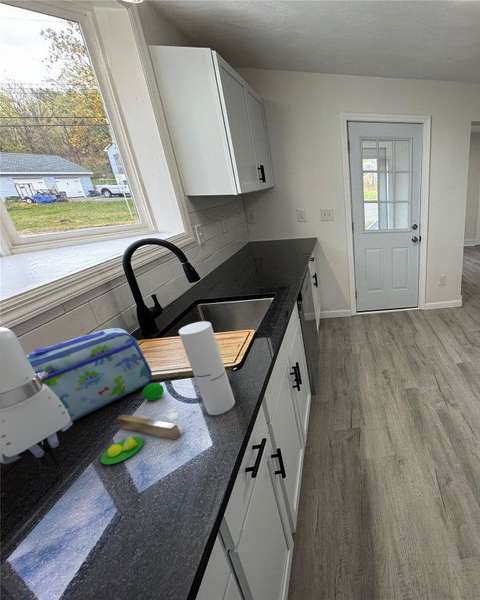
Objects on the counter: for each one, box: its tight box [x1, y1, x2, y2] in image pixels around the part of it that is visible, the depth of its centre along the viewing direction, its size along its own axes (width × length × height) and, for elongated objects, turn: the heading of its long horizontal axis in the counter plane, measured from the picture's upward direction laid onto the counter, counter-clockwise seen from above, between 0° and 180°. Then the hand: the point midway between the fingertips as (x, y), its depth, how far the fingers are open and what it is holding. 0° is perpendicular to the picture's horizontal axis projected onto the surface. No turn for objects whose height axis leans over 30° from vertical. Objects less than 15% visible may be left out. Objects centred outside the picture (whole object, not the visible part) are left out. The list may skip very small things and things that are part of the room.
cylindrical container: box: [178, 321, 236, 416], centre depth 84 cm, size 7×7×25 cm
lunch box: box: [26, 327, 153, 423], centre depth 89 cm, size 26×11×21 cm, turn 144°
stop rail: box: [116, 413, 182, 440], centre depth 80 cm, size 18×2×4 cm, turn 75°
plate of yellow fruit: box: [100, 436, 144, 465], centre depth 75 cm, size 8×8×3 cm
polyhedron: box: [141, 382, 165, 401], centre depth 93 cm, size 5×5×5 cm
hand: (52, 464), depth 65 cm, fingers closed
